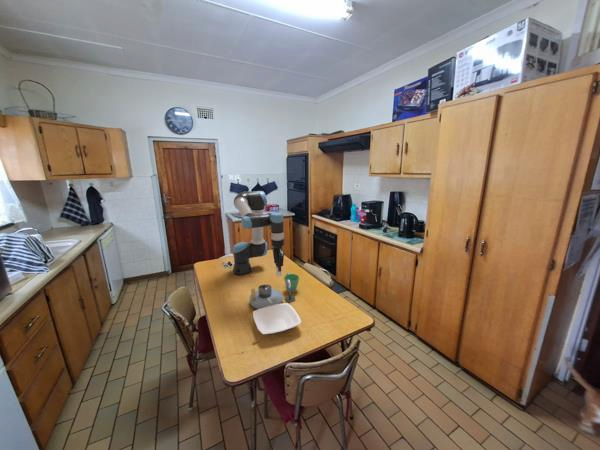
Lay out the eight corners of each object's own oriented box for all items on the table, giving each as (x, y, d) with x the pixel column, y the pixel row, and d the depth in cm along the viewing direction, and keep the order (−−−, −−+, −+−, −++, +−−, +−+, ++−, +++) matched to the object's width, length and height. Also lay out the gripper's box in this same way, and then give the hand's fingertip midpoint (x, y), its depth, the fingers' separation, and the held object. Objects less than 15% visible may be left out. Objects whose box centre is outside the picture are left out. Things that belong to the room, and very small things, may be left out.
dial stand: (284, 299, 154) (284, 279, 151) (291, 297, 156) (291, 277, 153) (288, 302, 150) (287, 282, 146) (295, 300, 152) (294, 280, 149)
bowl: (261, 347, 114) (261, 336, 112) (250, 319, 135) (250, 310, 133) (304, 333, 122) (304, 323, 121) (288, 309, 143) (288, 300, 142)
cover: (256, 293, 153) (256, 286, 151) (268, 290, 157) (268, 283, 155) (261, 299, 146) (261, 291, 145) (273, 295, 150) (273, 288, 149)
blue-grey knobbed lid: (245, 297, 154) (244, 283, 151) (274, 288, 163) (273, 276, 161) (256, 313, 137) (255, 298, 135) (287, 302, 147) (287, 288, 144)
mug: (300, 293, 161) (300, 279, 159) (286, 295, 158) (286, 281, 156) (294, 283, 175) (294, 270, 172) (281, 285, 172) (281, 272, 170)
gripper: (267, 237, 147) (269, 273, 153) (276, 242, 136) (277, 281, 142) (278, 235, 151) (280, 270, 156) (288, 240, 140) (289, 278, 145)
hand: (279, 275), depth 149 cm, fingers closed
